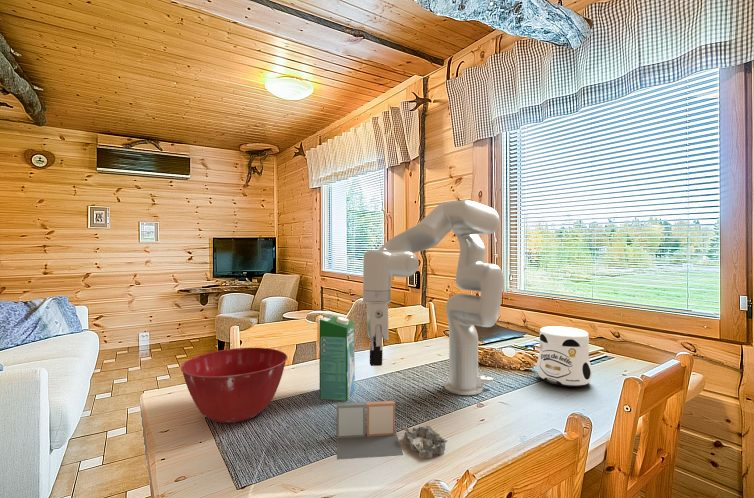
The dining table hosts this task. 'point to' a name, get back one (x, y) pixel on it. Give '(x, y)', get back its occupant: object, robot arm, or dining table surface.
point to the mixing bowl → (234, 382)
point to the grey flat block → (350, 420)
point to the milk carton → (336, 358)
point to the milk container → (564, 356)
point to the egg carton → (425, 441)
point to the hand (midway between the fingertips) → (375, 364)
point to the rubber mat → (368, 446)
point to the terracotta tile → (380, 418)
